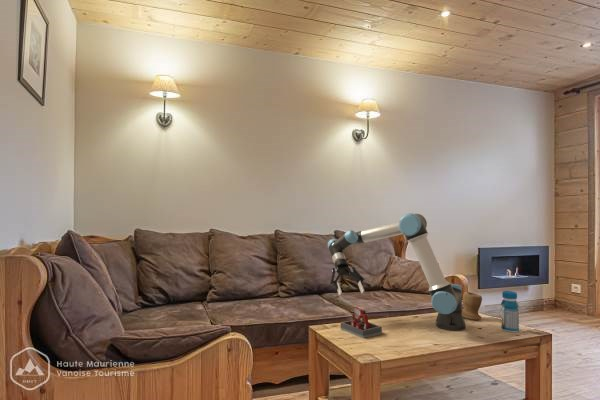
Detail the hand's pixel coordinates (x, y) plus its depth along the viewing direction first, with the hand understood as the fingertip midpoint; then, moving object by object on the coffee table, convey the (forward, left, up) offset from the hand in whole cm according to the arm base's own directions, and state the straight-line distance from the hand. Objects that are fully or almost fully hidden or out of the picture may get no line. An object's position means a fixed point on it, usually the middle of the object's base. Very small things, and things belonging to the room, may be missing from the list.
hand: (351, 293), depth 205 cm
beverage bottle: (-51, -65, -18) cm, 85 cm away
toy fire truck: (-10, +3, -17) cm, 20 cm away
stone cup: (-25, -69, -18) cm, 76 cm away
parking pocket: (-10, +3, -18) cm, 20 cm away
